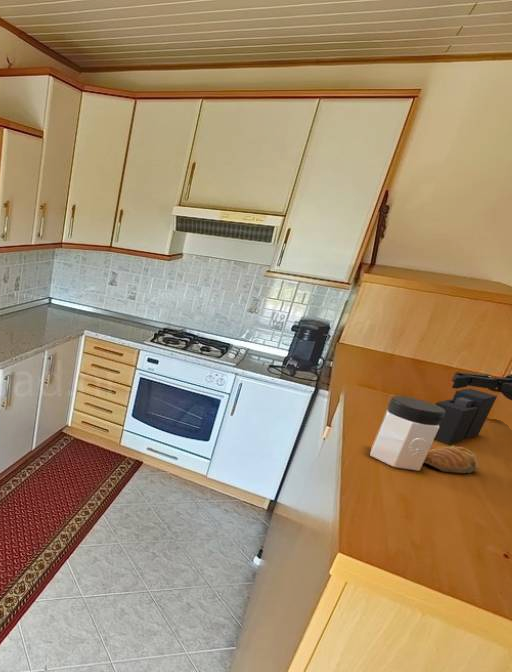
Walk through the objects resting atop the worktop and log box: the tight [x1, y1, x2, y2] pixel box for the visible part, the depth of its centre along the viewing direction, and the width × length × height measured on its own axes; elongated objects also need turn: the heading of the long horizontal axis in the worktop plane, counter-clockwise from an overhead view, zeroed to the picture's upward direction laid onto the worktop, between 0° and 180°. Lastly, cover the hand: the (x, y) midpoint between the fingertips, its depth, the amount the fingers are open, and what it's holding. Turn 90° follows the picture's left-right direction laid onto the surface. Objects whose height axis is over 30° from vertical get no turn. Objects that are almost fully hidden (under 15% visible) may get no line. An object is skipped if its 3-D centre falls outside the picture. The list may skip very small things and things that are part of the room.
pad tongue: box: [451, 387, 498, 440], centre depth 112 cm, size 10×5×10 cm, turn 117°
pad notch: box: [434, 398, 478, 445], centre depth 109 cm, size 7×5×8 cm
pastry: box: [423, 445, 479, 474], centre depth 95 cm, size 9×7×4 cm
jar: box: [369, 395, 445, 472], centre depth 94 cm, size 9×8×12 cm
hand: (491, 393), depth 115 cm, fingers open, 13 cm apart
